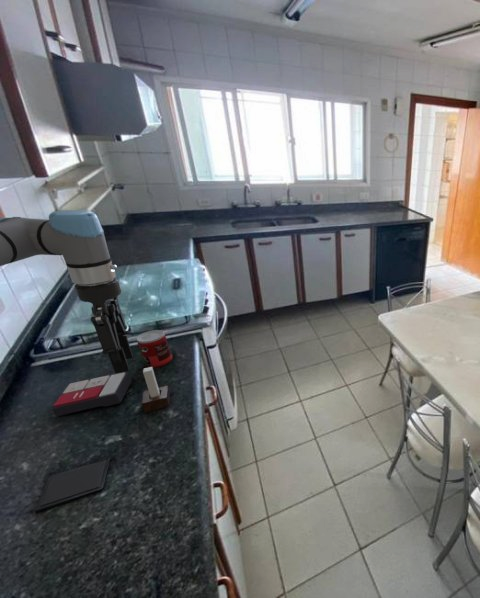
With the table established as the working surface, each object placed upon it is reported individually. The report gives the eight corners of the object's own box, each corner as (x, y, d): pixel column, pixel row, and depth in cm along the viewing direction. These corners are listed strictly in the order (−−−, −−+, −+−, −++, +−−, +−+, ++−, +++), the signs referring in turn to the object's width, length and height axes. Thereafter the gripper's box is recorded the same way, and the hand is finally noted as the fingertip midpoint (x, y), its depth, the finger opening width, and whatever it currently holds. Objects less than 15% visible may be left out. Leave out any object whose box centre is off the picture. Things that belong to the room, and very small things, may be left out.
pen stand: (144, 414, 95) (141, 403, 93) (147, 401, 100) (143, 390, 98) (169, 407, 98) (166, 397, 96) (170, 395, 103) (167, 385, 101)
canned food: (148, 358, 118) (138, 332, 113) (174, 353, 122) (165, 327, 117) (144, 370, 112) (133, 344, 107) (172, 364, 116) (162, 338, 111)
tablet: (35, 513, 69) (34, 510, 69) (50, 478, 76) (48, 475, 76) (103, 491, 74) (102, 488, 74) (111, 460, 81) (109, 457, 81)
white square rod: (153, 407, 98) (142, 372, 92) (154, 403, 99) (143, 368, 94) (162, 405, 99) (151, 370, 93) (162, 401, 100) (152, 366, 95)
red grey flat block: (68, 382, 99) (127, 369, 104) (74, 393, 101) (132, 380, 106) (49, 407, 90) (114, 392, 95) (56, 418, 92) (120, 403, 97)
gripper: (108, 293, 69) (137, 381, 79) (124, 266, 83) (147, 343, 93) (60, 298, 66) (97, 390, 75) (85, 269, 80) (113, 349, 90)
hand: (124, 364), depth 84 cm, fingers open, 5 cm apart
